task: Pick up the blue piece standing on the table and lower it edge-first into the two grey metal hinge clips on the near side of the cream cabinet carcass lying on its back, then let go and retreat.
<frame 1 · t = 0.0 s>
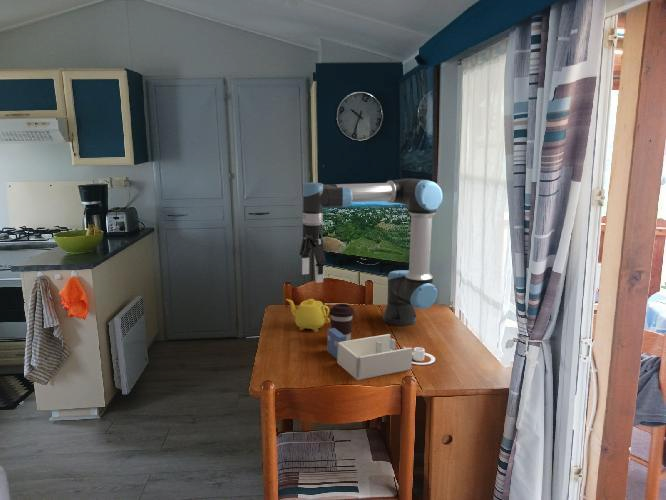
hand: (312, 278, 212), 28 cm above the table, fingers open, 13 cm apart
blue piece: (336, 354, 210), on the table
teapot: (307, 327, 240), on the table
cabinet carcass: (373, 366, 200), on the table
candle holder: (419, 360, 207), on the table
coffee cup: (341, 341, 224), on the table
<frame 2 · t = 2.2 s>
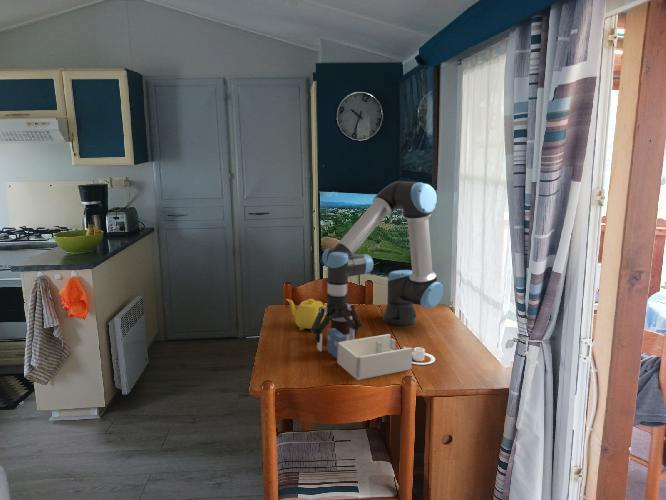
hand: (335, 347, 209), 3 cm above the table, fingers open, 13 cm apart
nothing on the table moved.
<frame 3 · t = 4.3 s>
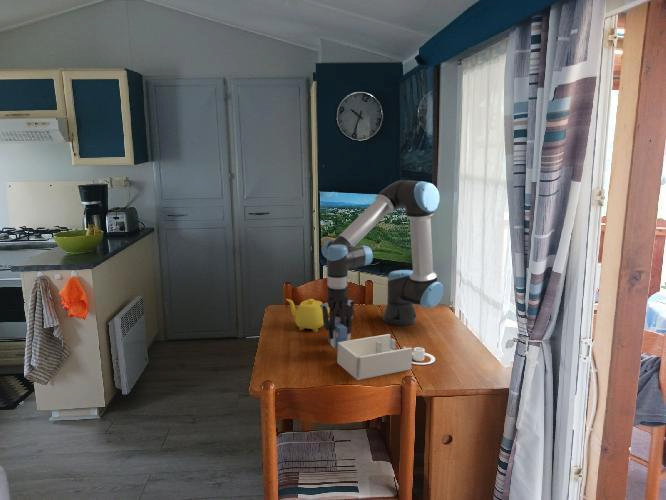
hand: (337, 345, 209), 4 cm above the table, fingers closed on blue piece, 3 cm apart
blue piece: (337, 346, 210), point 3 cm above the table, touching gripper
everything else where it was.
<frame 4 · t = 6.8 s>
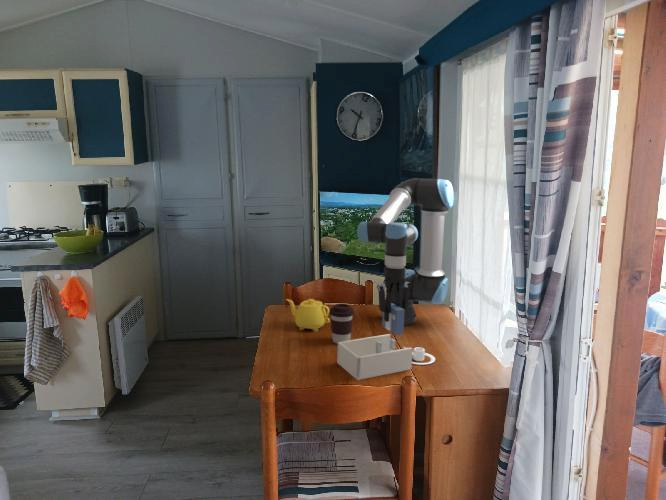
hand: (392, 328, 200), 13 cm above the table, fingers closed on blue piece, 3 cm apart
blue piece: (392, 329, 200), point 13 cm above the table, touching gripper
everything else where it was.
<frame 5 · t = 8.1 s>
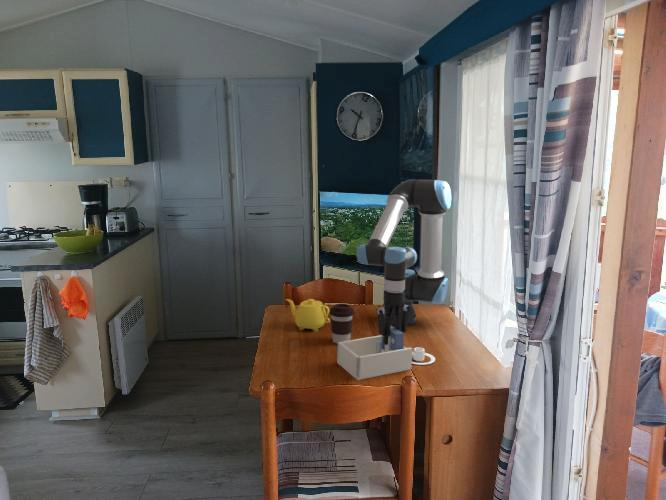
hand: (391, 351, 202), 4 cm above the table, fingers closed on blue piece, 3 cm apart
blue piece: (391, 352, 202), point 4 cm above the table, touching gripper
everything else where it was.
when the fingers open (2 cm above the table, at t = 9.1 s): blue piece stays where it is, resting on cabinet carcass.
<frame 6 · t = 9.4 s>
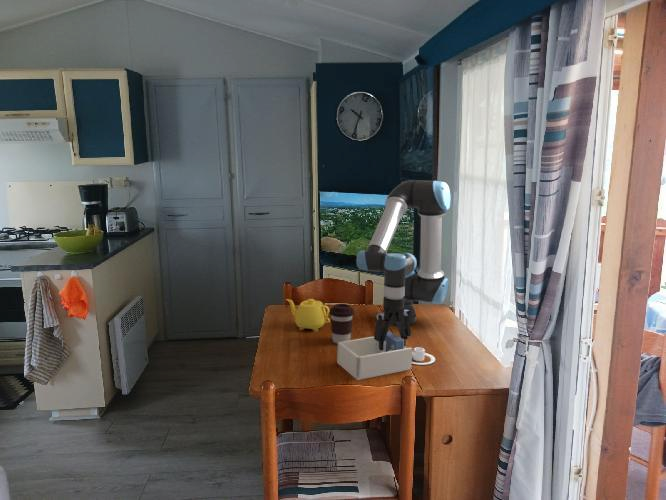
hand: (391, 356, 203), 3 cm above the table, fingers open, 7 cm apart
blue piece: (391, 359, 203), point 1 cm above the table, touching cabinet carcass
everything else where it was.
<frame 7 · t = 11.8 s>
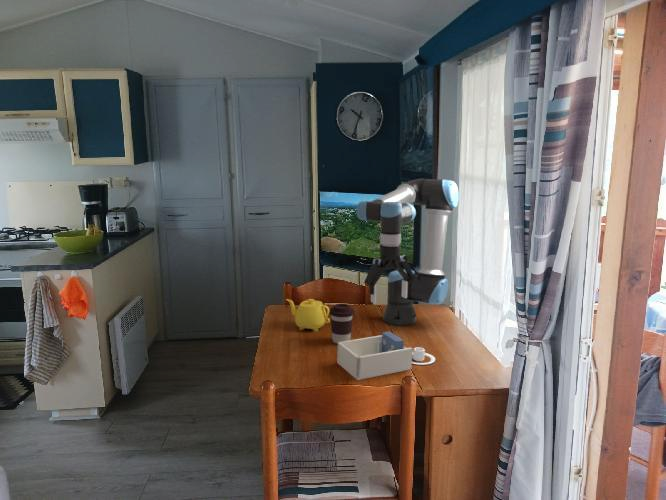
hand: (389, 299, 205), 22 cm above the table, fingers open, 13 cm apart
nothing on the table moved.
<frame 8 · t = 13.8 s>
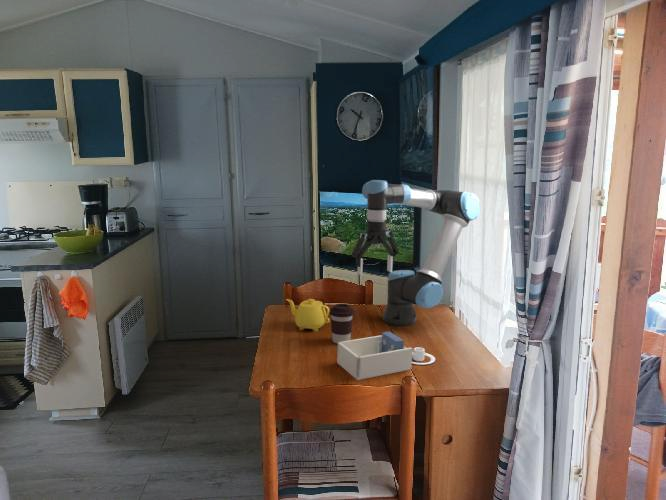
hand: (374, 273, 219), 29 cm above the table, fingers open, 13 cm apart
nothing on the table moved.
at the end: blue piece 0.1 cm from the target spot on the cabinet carcass, point 1.3 cm above the cabinet carcass's base; blue piece tilted 0°; the gripper is holding nothing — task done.
